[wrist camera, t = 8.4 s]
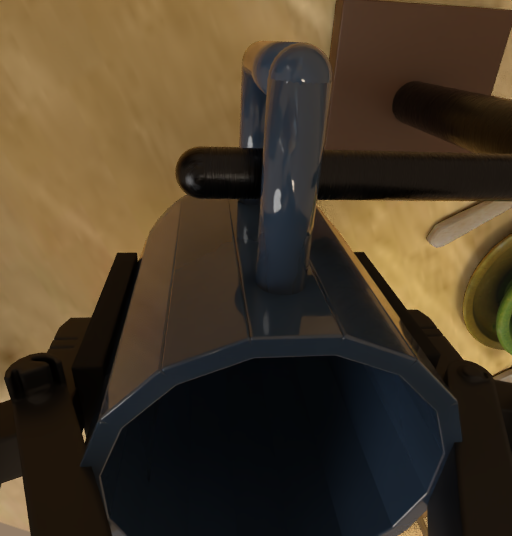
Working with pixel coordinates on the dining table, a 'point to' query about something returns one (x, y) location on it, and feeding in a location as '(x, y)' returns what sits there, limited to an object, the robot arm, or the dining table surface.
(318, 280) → the mug
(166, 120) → the dining table surface
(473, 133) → the cup holder
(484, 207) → the tableware set
